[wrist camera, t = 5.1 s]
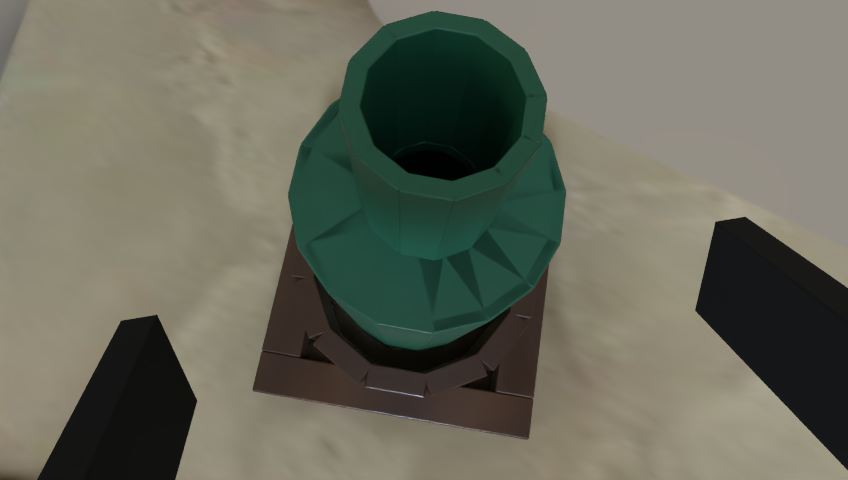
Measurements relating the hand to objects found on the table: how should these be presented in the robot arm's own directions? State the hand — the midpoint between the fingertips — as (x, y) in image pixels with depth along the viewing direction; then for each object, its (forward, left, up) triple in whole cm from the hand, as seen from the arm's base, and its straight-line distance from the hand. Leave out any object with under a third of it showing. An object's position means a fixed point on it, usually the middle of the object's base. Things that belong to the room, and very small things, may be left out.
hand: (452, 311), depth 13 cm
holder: (-1, +3, -14) cm, 14 cm away
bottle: (-1, +3, -14) cm, 14 cm away
